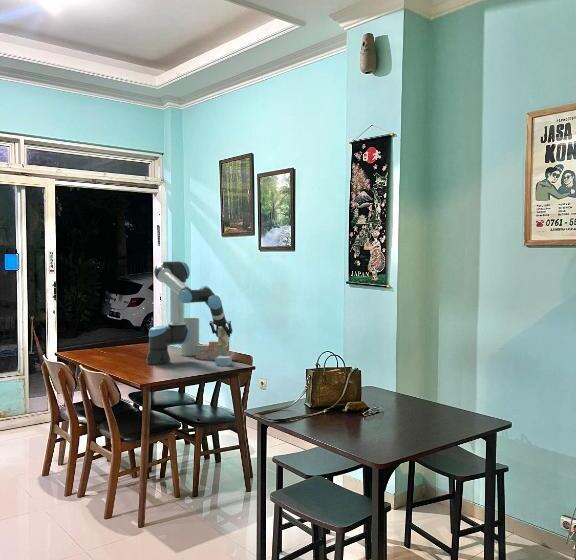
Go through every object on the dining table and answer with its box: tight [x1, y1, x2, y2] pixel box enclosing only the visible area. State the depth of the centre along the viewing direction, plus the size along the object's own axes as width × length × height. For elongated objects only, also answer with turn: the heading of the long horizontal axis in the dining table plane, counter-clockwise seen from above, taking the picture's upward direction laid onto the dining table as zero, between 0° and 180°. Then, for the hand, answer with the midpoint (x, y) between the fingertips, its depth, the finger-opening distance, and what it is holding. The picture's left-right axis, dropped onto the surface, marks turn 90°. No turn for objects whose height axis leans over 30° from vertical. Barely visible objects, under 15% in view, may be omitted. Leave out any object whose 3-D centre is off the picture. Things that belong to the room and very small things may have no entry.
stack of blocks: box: [195, 339, 230, 361], centre depth 384 cm, size 21×6×12 cm, turn 79°
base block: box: [214, 355, 233, 367], centre depth 364 cm, size 8×8×5 cm
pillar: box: [217, 327, 228, 347], centre depth 363 cm, size 5×5×12 cm
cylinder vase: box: [180, 317, 200, 357], centre depth 400 cm, size 12×12×25 cm
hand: (224, 339), depth 367 cm, fingers closed on pillar, 5 cm apart
